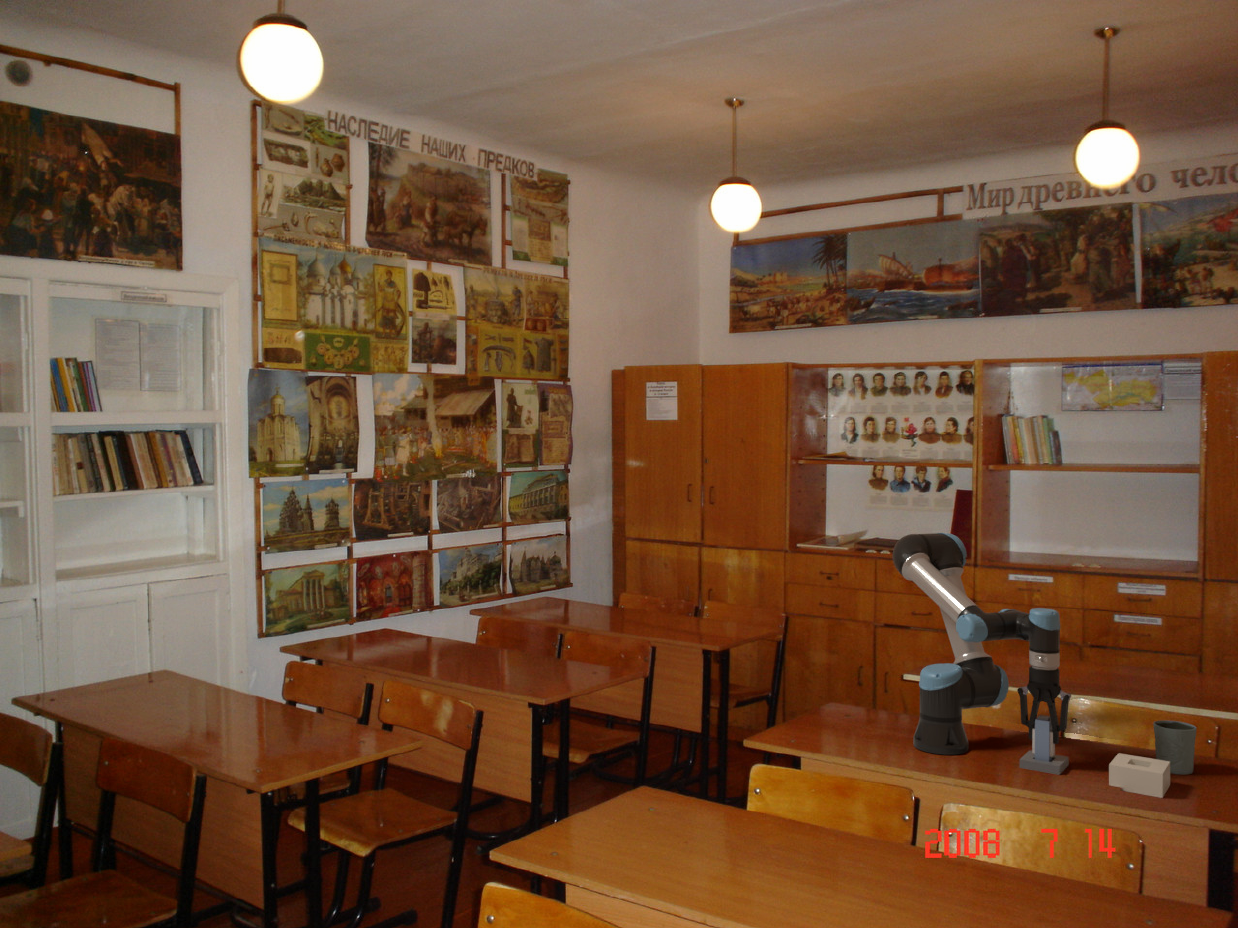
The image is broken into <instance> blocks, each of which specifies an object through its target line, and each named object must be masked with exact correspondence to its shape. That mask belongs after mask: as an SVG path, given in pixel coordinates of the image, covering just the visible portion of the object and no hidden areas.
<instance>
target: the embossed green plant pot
mask: <svg viewBox="0 0 1238 928" xmlns="http://www.w3.org/2000/svg"><path fill="white" fill-rule="evenodd" d="M1197 729H1198V728H1197V726H1195V725H1193V724H1190V723H1187V722H1183V721H1177V720H1166V719H1165V720H1156V721H1155V720H1154V721H1153V731H1154V747H1155V759H1158V760H1164V761H1170V774H1171V775H1172V774H1173V775H1182V776H1183V775H1191V774H1192V773H1193V772H1194V763H1195V761H1194V759H1195V758H1194V757H1195V749H1196V748H1195V747H1196V746H1195V745H1196V738H1197V737H1196V736H1197Z"/></svg>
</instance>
